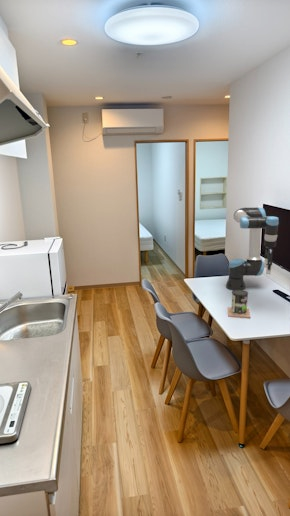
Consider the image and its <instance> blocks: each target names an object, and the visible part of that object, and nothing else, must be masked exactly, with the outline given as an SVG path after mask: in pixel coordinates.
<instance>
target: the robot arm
mask: <svg viewBox="0 0 290 516" xmlns="http://www.w3.org/2000/svg"><path fill="white" fill-rule="evenodd" d="M233 219H234V220H235V222H237V223H239V228H240V229H249V236H248V237H249V238H248V239H249V241H248V257H246V260H245V259H244V258H234V259H232V260H230V261H229V263H228V264H229V265H228V279H227V281H226V284H225V287H226V288H225V289H228V290H231V291H233V290H244V291H245V289H246V284H245V280H244V278H245V277H244V276H248V277H249V276H251V277H252V276H253V277H254V276H255V277H256V276H262V275H263V274H264V273H263V272H264V270H265V269H266V271H265V275H271V273H272V266H273V254H274V253H273V251H274V250H273V248H275V247H277V238H278V237H279V235H278V231H279V230H278V229H279V224H280V222H279V217H277V216H271V215H270V216H269V215H268V216H267V214H266V210H265V208H264V207H257V206H256V207H242V208H238V209H237V210H236V211H234V213H233ZM262 229H265V230H264V231H265V232H264V240H263V241H264V243H263V246H264V247H265V252H264V261H263V258H261V241H262V240H261V239H262V237H261V234H262Z"/></svg>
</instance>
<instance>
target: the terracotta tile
mask: <svg viewBox="0 0 290 516" xmlns="http://www.w3.org/2000/svg"><path fill="white" fill-rule="evenodd" d="M227 316H228V318H240V319H251V314H250V308H248V307H247V313H246V314H244V315H236V314H233V313H232V312H231V306H228V307H227Z"/></svg>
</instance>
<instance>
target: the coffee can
mask: <svg viewBox="0 0 290 516" xmlns="http://www.w3.org/2000/svg"><path fill="white" fill-rule="evenodd" d="M248 294H249V292H248V291H247V290H245V289H244V290H231V306H230V307H231V312H232V313H233V314H236V315H244V314H246V313H247V308H248V297H249V295H248Z"/></svg>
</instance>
